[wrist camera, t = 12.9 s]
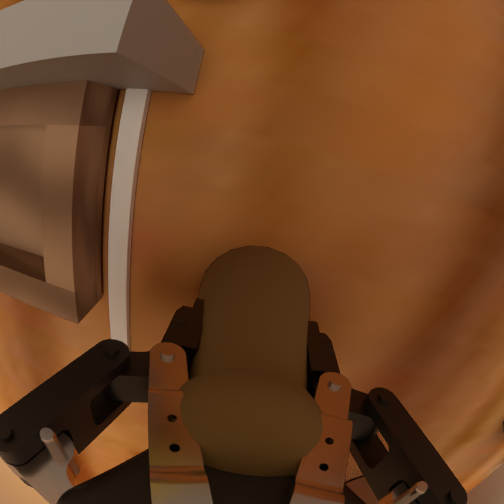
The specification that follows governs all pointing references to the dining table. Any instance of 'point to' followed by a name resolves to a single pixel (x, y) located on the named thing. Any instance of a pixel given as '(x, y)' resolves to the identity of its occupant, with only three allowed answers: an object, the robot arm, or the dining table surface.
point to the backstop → (111, 74)
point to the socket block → (53, 193)
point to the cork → (252, 366)
